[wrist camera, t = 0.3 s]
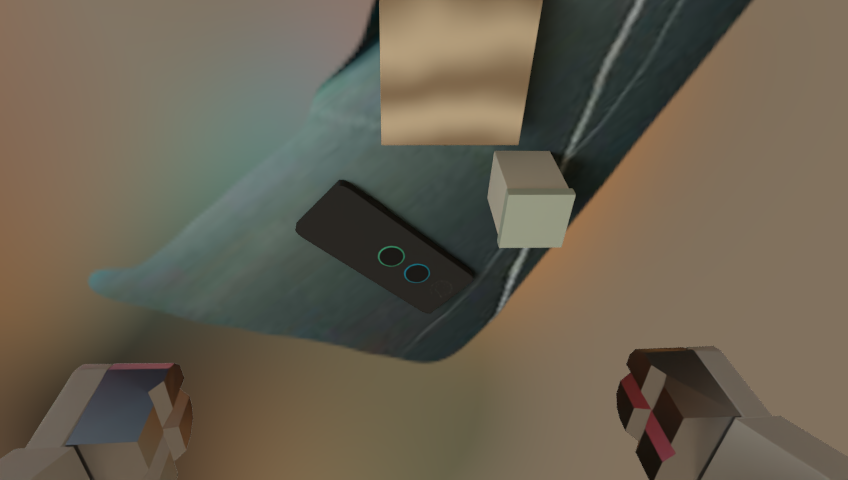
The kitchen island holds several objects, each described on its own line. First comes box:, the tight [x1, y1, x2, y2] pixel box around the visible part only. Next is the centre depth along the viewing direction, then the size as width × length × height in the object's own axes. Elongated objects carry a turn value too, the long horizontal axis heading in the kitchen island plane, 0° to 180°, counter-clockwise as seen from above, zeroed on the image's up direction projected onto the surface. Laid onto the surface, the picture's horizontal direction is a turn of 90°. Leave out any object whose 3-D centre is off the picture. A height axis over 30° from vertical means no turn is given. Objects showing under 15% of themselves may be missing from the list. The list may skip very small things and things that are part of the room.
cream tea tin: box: [487, 151, 576, 248], centre depth 51 cm, size 6×6×8 cm
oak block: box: [379, 0, 543, 145], centre depth 44 cm, size 12×12×5 cm
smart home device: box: [295, 180, 473, 313], centre depth 59 cm, size 8×2×20 cm
